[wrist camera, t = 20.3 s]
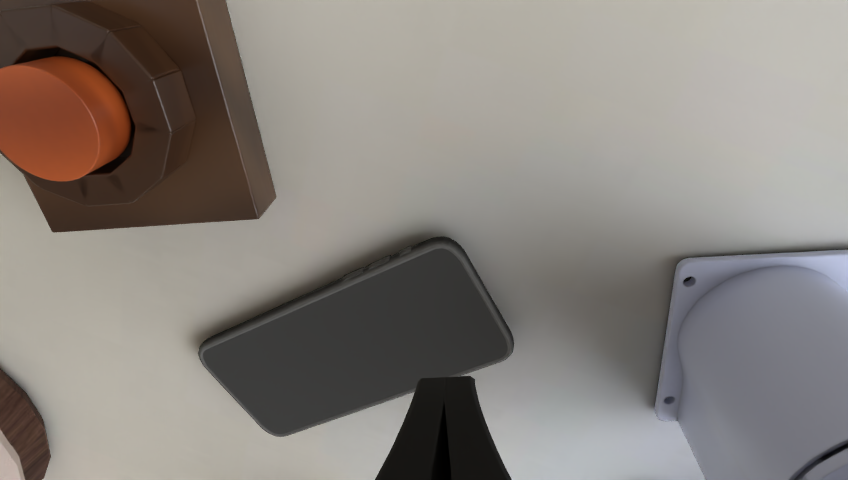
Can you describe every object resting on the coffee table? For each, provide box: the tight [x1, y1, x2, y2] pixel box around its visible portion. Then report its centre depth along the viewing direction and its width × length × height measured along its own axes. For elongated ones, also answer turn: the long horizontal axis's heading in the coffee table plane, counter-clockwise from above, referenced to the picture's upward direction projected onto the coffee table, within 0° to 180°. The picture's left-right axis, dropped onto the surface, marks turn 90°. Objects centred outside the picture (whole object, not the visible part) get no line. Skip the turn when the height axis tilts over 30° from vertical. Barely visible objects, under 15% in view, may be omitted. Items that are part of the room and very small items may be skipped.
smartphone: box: [198, 237, 514, 437], centre depth 25 cm, size 7×1×15 cm
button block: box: [0, 0, 276, 232], centre depth 18 cm, size 10×9×4 cm
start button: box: [0, 56, 131, 181], centre depth 16 cm, size 4×4×2 cm
